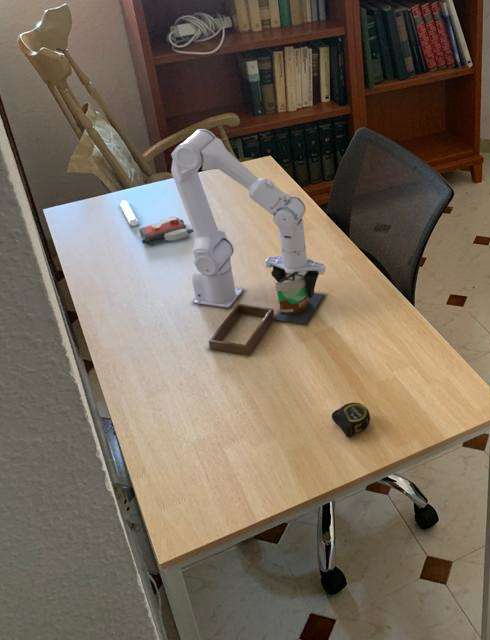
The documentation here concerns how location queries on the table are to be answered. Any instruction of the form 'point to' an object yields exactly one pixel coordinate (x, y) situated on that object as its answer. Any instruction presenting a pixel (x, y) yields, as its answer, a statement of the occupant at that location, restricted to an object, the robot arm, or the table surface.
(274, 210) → the robot arm
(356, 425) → the tape measure
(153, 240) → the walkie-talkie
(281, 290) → the food container
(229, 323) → the walnut tray
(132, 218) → the marker
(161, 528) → the table surface
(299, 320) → the rubber mat
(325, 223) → the table surface
